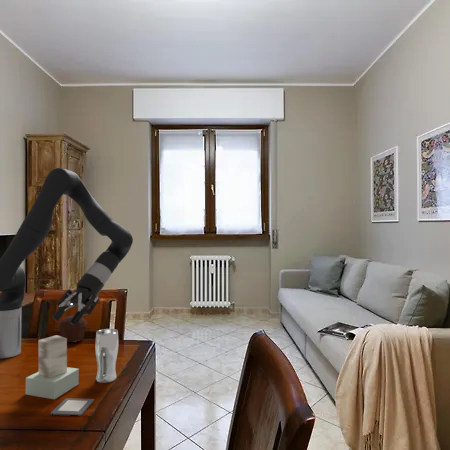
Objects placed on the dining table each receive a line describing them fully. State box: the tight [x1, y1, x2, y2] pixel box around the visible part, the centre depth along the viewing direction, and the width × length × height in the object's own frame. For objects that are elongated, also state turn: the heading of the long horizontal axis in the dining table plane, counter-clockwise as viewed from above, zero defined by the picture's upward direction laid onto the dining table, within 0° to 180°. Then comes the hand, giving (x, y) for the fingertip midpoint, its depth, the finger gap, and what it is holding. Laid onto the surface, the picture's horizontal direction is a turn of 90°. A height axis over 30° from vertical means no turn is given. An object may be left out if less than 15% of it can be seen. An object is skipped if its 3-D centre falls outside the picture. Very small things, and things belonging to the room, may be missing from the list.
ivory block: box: [38, 335, 68, 378], centre depth 104 cm, size 6×6×10 cm
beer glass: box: [94, 328, 119, 384], centre depth 112 cm, size 7×7×15 cm
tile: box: [49, 397, 95, 417], centre depth 94 cm, size 8×8×1 cm
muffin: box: [57, 314, 88, 342], centre depth 150 cm, size 12×11×10 cm
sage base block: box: [24, 366, 80, 400], centre depth 104 cm, size 10×10×5 cm
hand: (63, 321), depth 108 cm, fingers open, 8 cm apart
